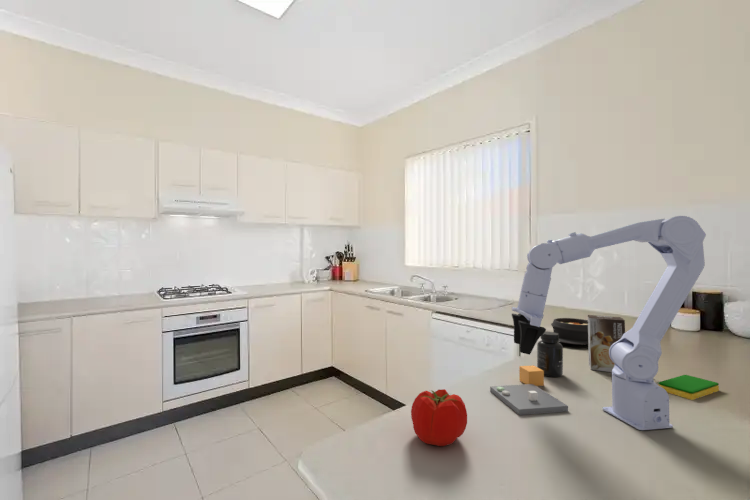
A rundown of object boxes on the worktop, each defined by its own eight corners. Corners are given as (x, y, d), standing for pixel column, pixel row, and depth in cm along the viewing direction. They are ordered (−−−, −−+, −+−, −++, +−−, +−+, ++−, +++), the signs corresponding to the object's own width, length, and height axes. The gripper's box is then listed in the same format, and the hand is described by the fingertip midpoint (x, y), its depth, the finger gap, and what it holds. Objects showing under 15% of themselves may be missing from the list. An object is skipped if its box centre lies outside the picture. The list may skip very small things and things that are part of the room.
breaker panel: (568, 411, 76) (568, 403, 76) (519, 414, 74) (519, 407, 74) (532, 388, 88) (532, 381, 88) (490, 391, 87) (490, 384, 87)
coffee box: (622, 368, 104) (622, 316, 105) (626, 374, 99) (626, 320, 99) (587, 363, 109) (587, 314, 109) (589, 369, 103) (589, 317, 103)
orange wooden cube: (543, 385, 90) (543, 370, 90) (528, 386, 90) (528, 371, 90) (533, 379, 95) (533, 365, 95) (519, 380, 94) (519, 366, 94)
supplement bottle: (566, 378, 96) (566, 336, 96) (540, 376, 97) (540, 335, 97) (558, 370, 102) (558, 331, 102) (534, 368, 104) (534, 330, 104)
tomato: (476, 437, 65) (476, 392, 65) (447, 463, 57) (447, 412, 57) (429, 419, 72) (429, 378, 72) (398, 440, 64) (398, 394, 64)
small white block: (537, 400, 78) (537, 392, 78) (531, 400, 78) (531, 393, 78) (534, 398, 79) (534, 390, 79) (528, 398, 79) (528, 391, 79)
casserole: (591, 352, 121) (591, 329, 121) (538, 342, 135) (538, 321, 135) (609, 340, 138) (609, 320, 138) (560, 333, 152) (560, 314, 152)
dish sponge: (719, 392, 87) (719, 382, 87) (692, 401, 82) (692, 391, 82) (685, 382, 94) (685, 374, 94) (657, 391, 88) (657, 381, 88)
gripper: (511, 286, 88) (500, 336, 89) (522, 294, 74) (509, 353, 75) (539, 292, 86) (528, 342, 87) (556, 301, 72) (542, 361, 73)
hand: (521, 348), depth 81 cm, fingers open, 7 cm apart
